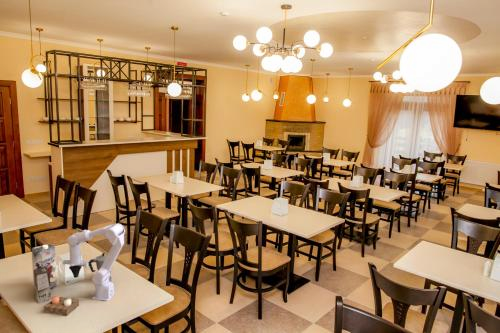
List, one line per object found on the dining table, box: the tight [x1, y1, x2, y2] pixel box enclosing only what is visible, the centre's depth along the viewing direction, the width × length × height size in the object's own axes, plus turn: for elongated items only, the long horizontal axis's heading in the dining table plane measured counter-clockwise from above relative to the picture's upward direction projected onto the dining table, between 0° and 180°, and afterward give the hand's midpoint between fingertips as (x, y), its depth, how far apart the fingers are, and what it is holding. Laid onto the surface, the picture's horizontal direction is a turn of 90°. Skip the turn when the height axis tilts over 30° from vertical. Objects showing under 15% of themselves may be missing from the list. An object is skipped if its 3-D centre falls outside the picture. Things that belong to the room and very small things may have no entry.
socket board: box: [43, 296, 80, 317], centre depth 185 cm, size 13×10×4 cm
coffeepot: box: [87, 252, 112, 282], centre depth 215 cm, size 15×9×18 cm, turn 129°
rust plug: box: [51, 295, 60, 305], centre depth 185 cm, size 3×3×5 cm
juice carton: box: [31, 243, 57, 290], centre depth 202 cm, size 9×10×27 cm
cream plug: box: [64, 299, 71, 306], centre depth 184 cm, size 3×3×5 cm
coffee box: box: [32, 267, 52, 304], centre depth 194 cm, size 9×6×16 cm
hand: (76, 277), depth 200 cm, fingers closed
